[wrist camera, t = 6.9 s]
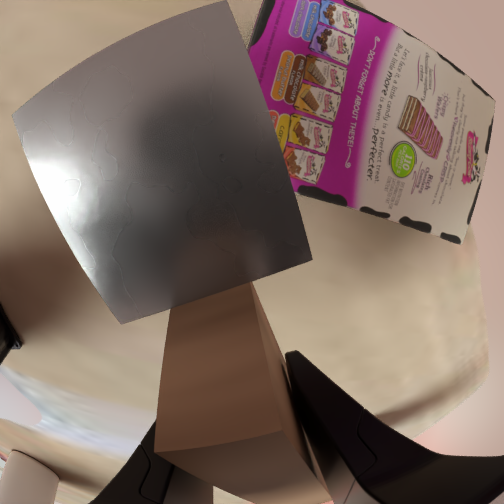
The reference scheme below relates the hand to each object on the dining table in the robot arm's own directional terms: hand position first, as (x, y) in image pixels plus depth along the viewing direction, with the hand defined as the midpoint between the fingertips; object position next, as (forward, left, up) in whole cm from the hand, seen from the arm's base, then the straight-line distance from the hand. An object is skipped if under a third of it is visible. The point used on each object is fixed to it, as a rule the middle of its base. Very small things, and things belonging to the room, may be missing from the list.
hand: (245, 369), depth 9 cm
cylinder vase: (-40, +53, -11) cm, 67 cm away
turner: (+1, 0, -1) cm, 2 cm away
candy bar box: (+11, -2, -9) cm, 14 cm away
